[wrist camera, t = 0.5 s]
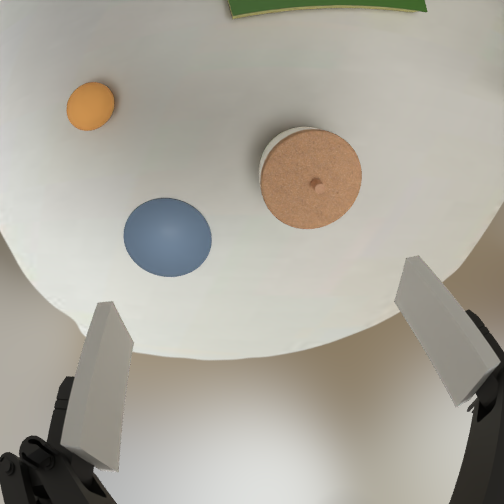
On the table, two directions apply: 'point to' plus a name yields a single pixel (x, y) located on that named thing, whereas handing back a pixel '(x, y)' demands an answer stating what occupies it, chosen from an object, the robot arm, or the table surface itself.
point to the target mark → (167, 237)
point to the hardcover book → (319, 5)
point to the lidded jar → (309, 177)
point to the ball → (90, 106)
